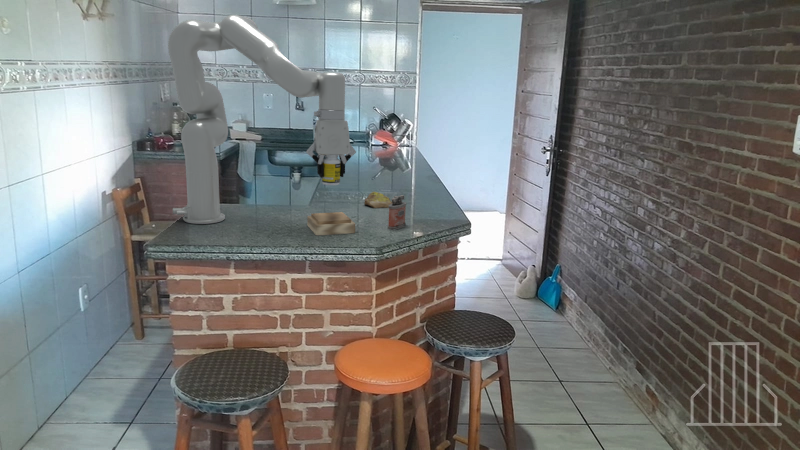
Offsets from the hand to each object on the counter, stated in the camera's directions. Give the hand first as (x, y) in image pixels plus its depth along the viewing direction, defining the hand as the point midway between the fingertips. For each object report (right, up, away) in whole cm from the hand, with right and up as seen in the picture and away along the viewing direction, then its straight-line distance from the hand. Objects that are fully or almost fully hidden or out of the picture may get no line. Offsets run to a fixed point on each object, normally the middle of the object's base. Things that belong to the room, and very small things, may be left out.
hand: (331, 175), depth 179 cm
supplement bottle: (0, -3, +1) cm, 3 cm away
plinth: (-1, -16, +4) cm, 17 cm away
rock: (+12, -8, +39) cm, 42 cm away
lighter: (+20, -16, +10) cm, 27 cm away
